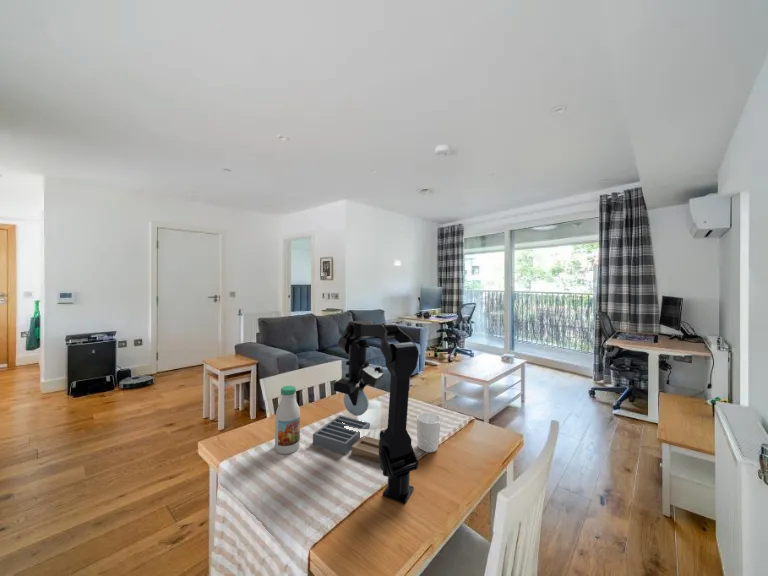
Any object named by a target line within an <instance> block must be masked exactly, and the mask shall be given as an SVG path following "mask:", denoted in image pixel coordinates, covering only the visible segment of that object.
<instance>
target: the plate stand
mask: <svg viewBox="0 0 768 576" xmlns="http://www.w3.org/2000/svg"><path fill="white" fill-rule="evenodd" d="M379 441H380V439H378V438H373V437H370V436H368V435H367V436H363V437H361V438H360V439H359V440H358V441H357V442H356V443H355V444H354V445H353V446H352V449H351V450H350V451H351V455H353V456H356V457H359V458H361V459H362V458H363V459H364V460H368V461H371V462H375V463H377V464H380V458H379V447H380V445H379Z"/></svg>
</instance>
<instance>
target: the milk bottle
mask: <svg viewBox="0 0 768 576" xmlns="http://www.w3.org/2000/svg"><path fill="white" fill-rule="evenodd" d="M296 391H297V388H296V386H294V385H284V386H282V387H281V388H280V396H281V397H280V398H281V399H280V401H279V404H278V407H277V408H276V411H275V421H274V427H275V428H274V450H275V452H276V453H277V454H280V455H289V454H292V453H295V452H297V451H298V450H299V449H300V447H301V445H300V444H301V443H300V442H301V440H300V439H301V410H300V406H299V404H298V402H297V400H296V394H297V393H296Z"/></svg>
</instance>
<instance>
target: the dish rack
mask: <svg viewBox="0 0 768 576" xmlns="http://www.w3.org/2000/svg"><path fill="white" fill-rule="evenodd" d="M362 421H363V420H361V421H359V419H356V418H352V417H350V416H346V415H341V414H339V415H338V416H336V417H335V418H334V419H332V420H331V421H329V422H327V424H325V425H324V426H322V427H320V428H319V429H317V430H316V431H315V432H314V433H312V445H315V446H318V447H320V448H324V449H326V450H330V451H333V452H337V453H340V454H342V455H347V454H349V453H350V451H351V449H352V446H353V445H354V444H355V443H356V442H357V441H358V440H359V439H360V432H359V431H358V432H356V431H353V430H349V429H346V428H344V426H349V427H353V428H358V429H369V428H370V429H371V423H370V422H368V421H364V422H362ZM342 422H343V423H345V424H343V423H342Z"/></svg>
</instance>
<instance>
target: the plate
mask: <svg viewBox="0 0 768 576" xmlns="http://www.w3.org/2000/svg"><path fill="white" fill-rule="evenodd" d="M343 403H344V407H345V409H346V410H347V412H348V413H350V415H353V416H358V417H359V416H362V415H363V414H365V413H366V412H367V411H368V409H369V404H370V403H369V398H368V396H367V394H366V392H365V391H364V390H361V389H360V390H359V391H358V398H357V404H356V406H354V405H353V404H352V402H351V400H350V398H349V395H348V394H344V396H343Z"/></svg>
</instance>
